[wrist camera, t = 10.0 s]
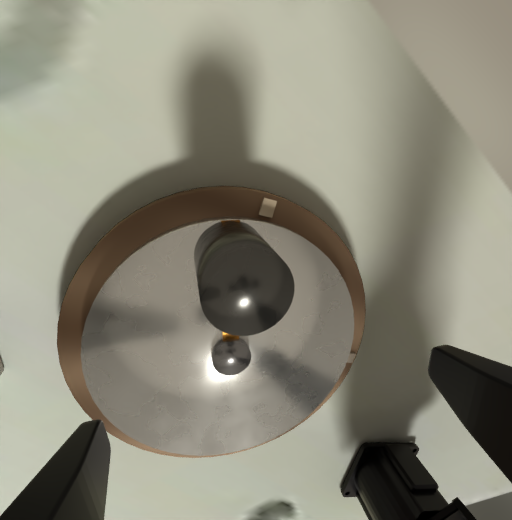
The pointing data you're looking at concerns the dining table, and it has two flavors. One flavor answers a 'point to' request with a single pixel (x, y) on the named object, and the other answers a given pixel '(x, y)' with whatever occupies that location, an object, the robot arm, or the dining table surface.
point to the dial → (217, 336)
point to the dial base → (172, 215)
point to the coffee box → (1, 367)
